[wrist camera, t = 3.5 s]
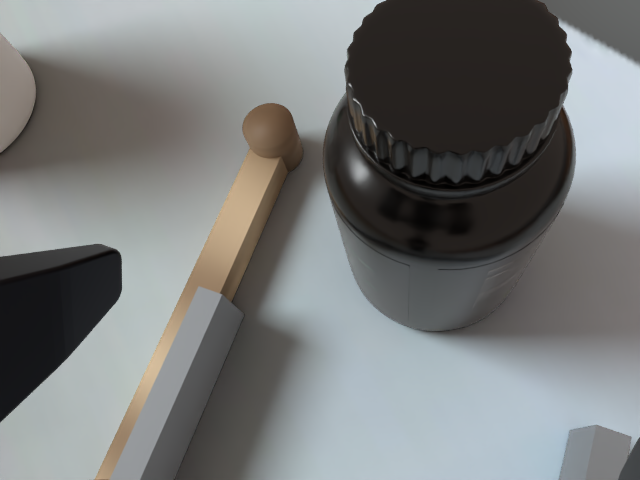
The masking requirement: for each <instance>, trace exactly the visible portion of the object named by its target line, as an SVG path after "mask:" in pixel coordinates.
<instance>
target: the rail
mask: <svg viewBox="0 0 640 480" xmlns="http://www.w3.org/2000/svg"><path fill="white" fill-rule="evenodd" d="M243 134H244V137H245V139H246V141H247V143H248V145H249V147H250V149H249V151H248V153H247V155H246V158H245V160H244V162H243V164H242V166H241V168H240V170H239V172H238V175H237V177H236V179H235V181H234V183H233V185H232V187H231V190H230V192H229V194H228V196H227V198H226V200H225V202H224V205H223V207H222V209H221V211H220V213H219V215H218V217H217V219H216V222H215V224H214V226H213V228H212V230H211V232H210V234H209V237H208V239H207V241H206V243H205V245H204V247H203V249H202V251H201V254H200V256H199V258H198V260H197V262H196V264H195V266H194V269H193V271H192V273H191V275H190V277H189V279H188V281H187V284H186V286H185V288H184V290H183V292H182V294H181V296H180V298H179V301H178V303H177V305H176V307H175V309H174V311H173V313H172V316H171V318H170V320H169V322H168V324H167V326H166V328H165V330H164V333H163V335H162V337H161V339H160V341H159V343H158V345H157V348H156V350H155V352H154V354H153V356H152V358H151V360H150V362H149V365H148V367H147V369H146V371H145V373H144V375H143V377H142V380H141V382H140V384H139V386H138V388H137V390H136V392H135V395H134V397H133V399H132V401H131V403H130V405H129V407H128V409H127V412H126V414H125V416H124V418H123V420H122V422H121V424H120V427H119V429H118V431H117V433H116V435H115V437H114V439H113V441H112V444H111V446H110V448H109V450H108V452H107V454H106V456H105V459H104V461H103V463H102V465H101V467H100V469H99V471H98V474H97V476H96V478H95V480H110V478H111V475H112V473H113V471H114V469H115V467H116V464H117V462H118V460H119V458H120V456H121V454H122V451H123V449H124V447H125V445H126V443H127V441H128V438H129V436H130V434H131V432H132V430H133V428H134V425H135V423H136V421H137V419H138V417H139V415H140V412H141V410H142V408H143V406H144V404H145V402H146V399H147V397H148V395H149V393H150V391H151V388H152V386H153V384H154V382H155V380H156V378H157V375H158V373H159V371H160V369H161V367H162V365H163V362H164V360H165V358H166V356H167V354H168V352H169V349H170V347H171V345H172V343H173V341H174V339H175V336H176V334H177V332H178V330H179V328H180V325H181V323H182V321H183V319H184V317H185V315H186V312H187V310H188V308H189V306H190V304H191V302H192V299H193V297H194V295H195V293H196V291H197V289H198V286H200V287H202V288H205V289H208V290H211V291H214V292H217V293H220V294H222V295H223V296H225V297H226V298H227V299H228V300H229V301H230V302H232V300H233V298H234V295H235V293H236V291H237V288H238V286H239V284H240V282H241V279H242V277H243V275H244V272H245V270H246V268H247V266H248V263H249V261H250V259H251V256H252V254H253V252H254V249H255V247H256V245H257V243H258V240H259V238H260V236H261V233H262V231H263V229H264V227H265V224H266V222H267V220H268V217H269V215H270V213H271V211H272V208H273V206H274V204H275V201H276V199H277V197H278V195H279V192H280V190H281V188H282V185H283V183H284V181H285V178H286V176H287V174H288V172H290V171H292V170H294V169H295V168H296V167H297V166H298V165H299V163H300V162H301V160H302V157H303V148H302V144H301V141H300V138H299V135H298V132H297V129H296V126H295V123H294V120H293V117H292V115H291V113H290V112H289V110H288V109H287V108H285V107H284V106H282V105H279V104H275V103H267V104H263V105H260V106H258V107H256V108H254V109H253V110H252V111H250V112H249V113H248V115H247V116H246V118H245V120H244V122H243Z"/></svg>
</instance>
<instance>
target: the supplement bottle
mask: <svg viewBox="0 0 640 480" xmlns="http://www.w3.org/2000/svg"><path fill="white" fill-rule="evenodd" d="M566 40H567V34H566V32H565V31H564V30H563V29H562V28H561V27H559V21H558V18H557V17H556V16H554V15H553V14H551V13H550V12H548V9H547V7H546V5H545V4H544V3H542V2H540V1H537V0H386V1H384V2H381V3H379V4H377V5H376V7H375V8H374V10H373V12H372V13H370V14H369V15H367V16H366V17H364V19H363V21H362V25H361V27H359V28H358V29H357V30H356V31H355V32H354V35H353V42H352V43H351V44H350V46H349V47H348V49H347V59H348V60H347V62H346V65H345V69H344V72H345V79H346V93H345V94H344V96H343V97H342V99H341V100H340V102H339V103H338V105H337V107H336V108H335V110H334V112H333V115H332V117H331V119H330V121H329V124H328V127H327V130H326V135H325V140H324V147H323V167H324V175H325V181H326V185H327V189H328V193H329V197H330V200H331V203H332V207H333V210H334V214H335V217H336V220H337V224H338V227H339V230H340V234H341V237H342V241H343V244H344V247H345V251H346V254H347V257H348V261H349V264H350V267H351V270H352V272H353V275H354V278H355V280H356V282H357V284H358V286H359V288H360V289H361V291H362V293H363V294H364V295H365V297H366V298H367V299H368V301H369V302H370V303H371V304H372V305H373V306H374V307H375V308H376V309H378V310H379V311H380V312H381V313H383V314H384V315H385V316H387V317H388V318H390V319H392V320H394V321H396V322H398V323H400V324H402V325H405V326H408V327H411V328H415V329H419V330H426V331H448V330H454V329H459V328H463V327H466V326H468V325H471V324H473V323H476V322H478V321H480V320H481V319H483V318H485V317H486V316H488V315H489V314H490V313H492V312H493V311H494V310H495V309H496V308H497V307H498V306H500V305H501V303H502V302H503V301H504V300H505V299H506V298H507V296H508V295H509V293H510V292H511V291H512V289H513V288H514V286H515V285H516V283H517V281H518V280H519V278H520V276H521V275H522V273H523V271H524V270H525V268H526V266H527V265H528V263H529V261H530V260H531V258H532V257H533V255H534V253H535V252H536V250H537V248H538V247H539V245H540V243H541V242H542V240H543V238H544V237H545V235H546V233H547V232H548V230H549V228H550V227H551V225H552V223H553V222H554V220H555V218H556V217H557V215H558V213H559V211H560V209H561V208H562V206H563V204H564V201H565V199H566V197H567V194H568V192H569V189H570V187H571V184H572V180H573V177H574V171H575V164H576V147H575V138H574V133H573V129H572V126H571V123H570V120H569V117H568V115H567V112H566V110H565V108H564V106H563V103H564V101H565V98H566V96H567V92H568V83H569V80H570V78H571V75H572V67H571V64H570V58H571V54H572V51H571V49H570V47H569V46H568V45H567V43H566Z"/></svg>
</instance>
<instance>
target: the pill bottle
mask: <svg viewBox="0 0 640 480" xmlns="http://www.w3.org/2000/svg"><path fill="white" fill-rule="evenodd" d="M35 98H36V85H35V80H34V76H33V74H32V71H31V69H30V67H29V66H28V64H27V63H26V61H25V60H24V59H23V57H22V56H21V55H20V53H19V52H18V51H17V50H16V49H15V48H14V47H13V46H12V45H11V44H10V43H9V41H8V40H7V39H6V38H5V37H4V36H3V35H2V34H1V33H0V153H1V152H2V151H3V150H5V149H6V148H7V147H8V146H9V145H10V144H11V143H12V142H13V141H14V140H15V139H16V138H17V137H18V135H19V134H20V133H21V131H22V130H23V129H24V127H25V125H26V124H27V122H28V120H29V118H30V116H31V113H32V111H33V108H34V104H35Z"/></svg>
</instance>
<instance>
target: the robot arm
mask: <svg viewBox="0 0 640 480" xmlns="http://www.w3.org/2000/svg"><path fill="white" fill-rule="evenodd" d="M121 291H122V259H121V255H120V252H119V251H118V250H116V249H113V248H111V247H108V246H105V245H102V244H93V245H86V246H78V247H71V248H63V249H56V250H48V251H41V252H33V253H26V254H18V255H11V256H3V257H0V422H1V421H2V420H3V419H4V418H6V417H7V416H8V415H9V414H10V413H11V412H12V411H13V410H14V409H15V408H16V407H17V406H18V405H19V404H20V403H21V402H22V401H23V400H24V399H26V398H27V397H28V396H29V395H30V394H31V393H32V392H33V391H34V390H35V389H36V388H37V387H38V386H39V385H40V384H41V383H42V382H43V381H45V380H46V379H47V378H48V377H49V376H50V375H51V374H52V373H53V372H54V371H55V370H56V369H57V368H58V367H59V366H60V365H61V364H62V363H63V362H64V361H65V360H66V359H67V358H68V357H69V356H70V355H71V354H72V353H73V351H74V350H75V349H76V348H77V347H78V346H79V345H80V343H81V342H82V341H83V340H84V339H85V338H86V337H87V335H88V334H89V333H90V332H91V331H92V330H93V328H94V327H95V326H96V325H97V324H98V323H99V321H100V320H101V319H102V318H103V317H104V316H105V315H106V313H107V312H108V311H109V310H110V309H111V308H112V306H113V305H114V304H115V303H116V302H117V300H118V299H119V297H120V294H121ZM618 480H640V438H639V439H638V441H637V442H636V444H635V446H634V448H633V450H632V452H631V453H630V455H629V457H628V459H627V461H626V463H625V464H624V466H623V468H622V470H621V472H620V475H619V478H618Z"/></svg>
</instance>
